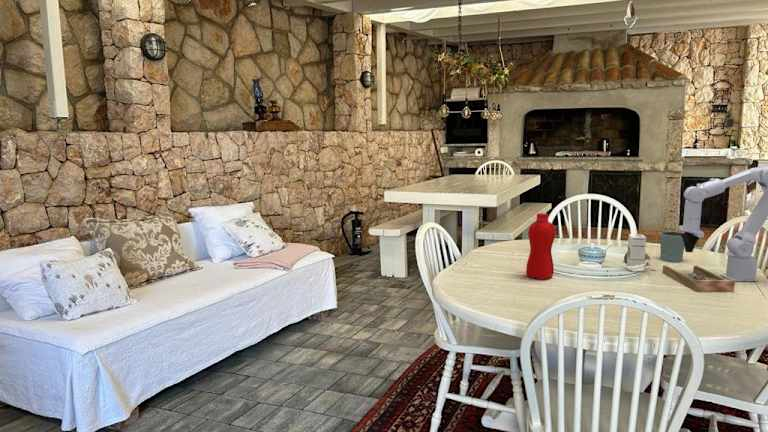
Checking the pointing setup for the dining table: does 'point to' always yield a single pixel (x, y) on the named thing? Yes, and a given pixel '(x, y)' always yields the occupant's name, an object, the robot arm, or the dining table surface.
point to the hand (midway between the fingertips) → (688, 252)
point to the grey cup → (671, 246)
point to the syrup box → (636, 249)
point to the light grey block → (645, 257)
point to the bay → (701, 285)
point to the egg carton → (698, 277)
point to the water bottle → (540, 248)
